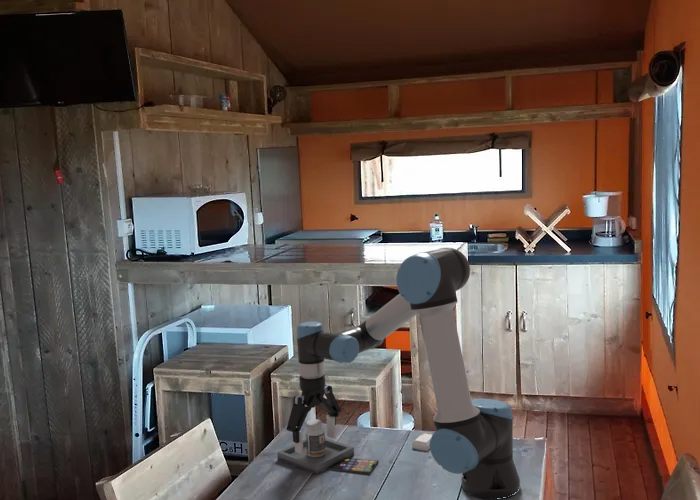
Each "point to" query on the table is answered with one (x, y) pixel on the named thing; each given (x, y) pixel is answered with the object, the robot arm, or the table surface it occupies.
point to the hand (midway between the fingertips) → (315, 444)
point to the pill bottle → (315, 439)
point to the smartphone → (354, 466)
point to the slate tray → (319, 464)
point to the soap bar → (422, 441)
